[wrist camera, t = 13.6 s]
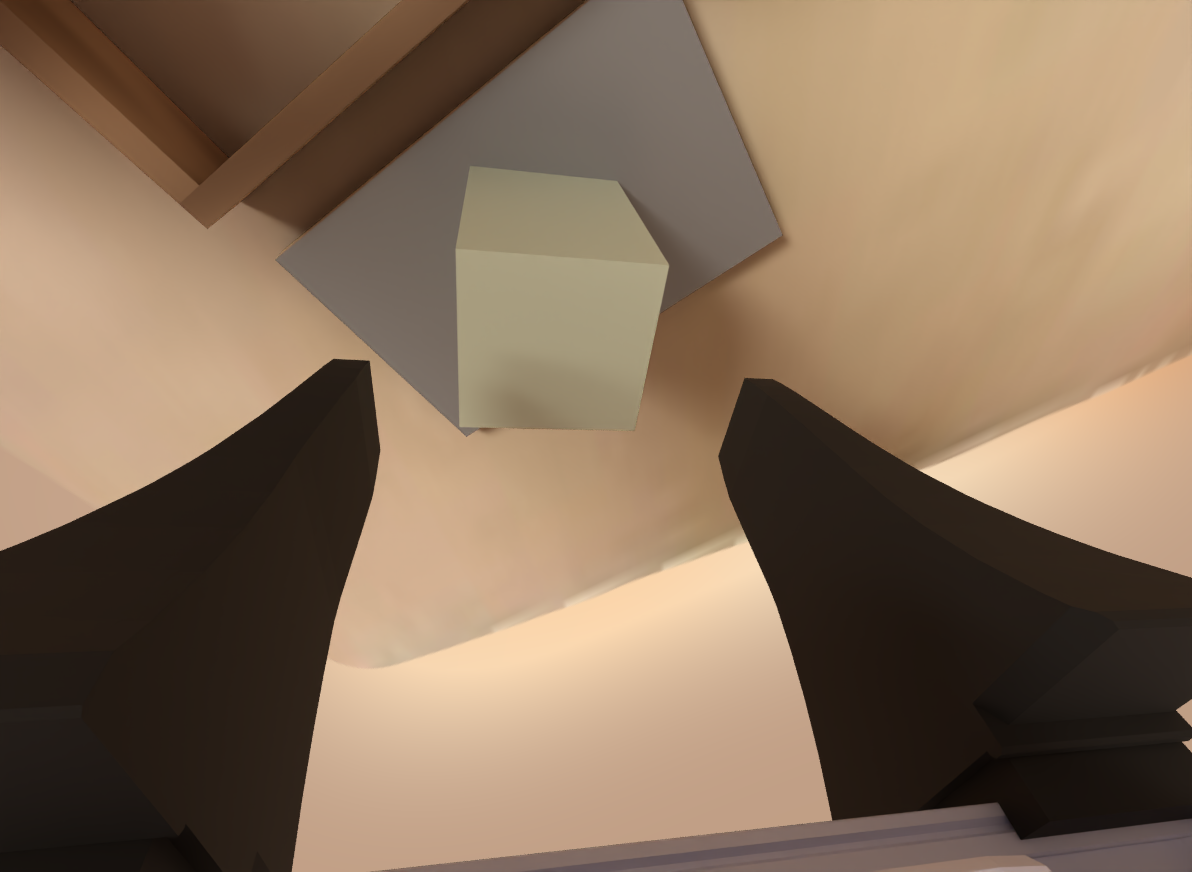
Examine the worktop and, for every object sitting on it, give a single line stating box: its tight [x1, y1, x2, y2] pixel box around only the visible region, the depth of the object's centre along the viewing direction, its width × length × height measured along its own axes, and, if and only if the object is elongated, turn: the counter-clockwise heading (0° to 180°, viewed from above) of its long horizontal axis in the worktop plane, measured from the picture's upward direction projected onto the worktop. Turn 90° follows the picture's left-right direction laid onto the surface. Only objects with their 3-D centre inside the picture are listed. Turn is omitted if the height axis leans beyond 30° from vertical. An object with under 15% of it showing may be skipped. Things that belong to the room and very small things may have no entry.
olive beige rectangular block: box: [456, 166, 669, 431], centre depth 16 cm, size 4×5×7 cm
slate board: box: [275, 0, 782, 437], centre depth 19 cm, size 9×14×1 cm, turn 123°
